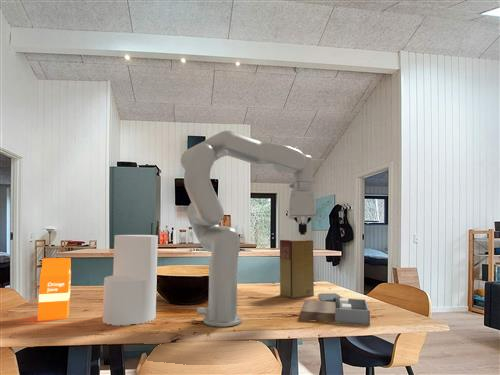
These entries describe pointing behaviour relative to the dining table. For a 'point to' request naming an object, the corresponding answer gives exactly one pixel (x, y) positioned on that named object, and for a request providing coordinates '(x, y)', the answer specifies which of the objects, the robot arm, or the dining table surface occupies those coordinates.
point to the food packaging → (296, 268)
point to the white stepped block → (131, 281)
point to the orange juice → (54, 289)
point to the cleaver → (328, 297)
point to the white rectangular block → (346, 306)
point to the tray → (353, 312)
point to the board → (318, 311)
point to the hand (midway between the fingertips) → (302, 234)
